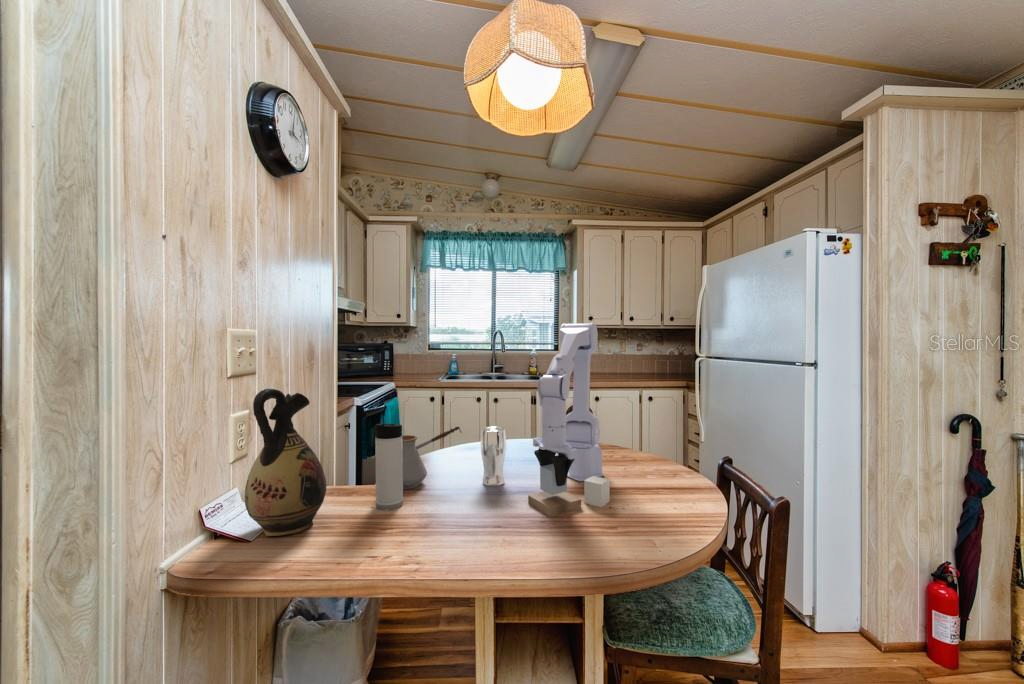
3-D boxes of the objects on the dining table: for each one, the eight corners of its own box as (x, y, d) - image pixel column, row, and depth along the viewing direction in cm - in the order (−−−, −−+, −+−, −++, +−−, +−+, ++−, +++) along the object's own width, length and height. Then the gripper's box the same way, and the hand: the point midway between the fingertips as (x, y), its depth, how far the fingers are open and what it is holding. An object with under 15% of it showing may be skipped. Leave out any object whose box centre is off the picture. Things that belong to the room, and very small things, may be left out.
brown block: (558, 497, 109) (558, 488, 109) (581, 510, 101) (581, 499, 101) (528, 505, 105) (528, 495, 104) (549, 518, 97) (549, 507, 97)
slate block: (555, 485, 106) (554, 463, 106) (567, 491, 102) (566, 467, 102) (540, 489, 103) (540, 466, 103) (552, 495, 100) (551, 471, 100)
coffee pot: (384, 494, 111) (383, 436, 111) (383, 480, 122) (383, 427, 122) (465, 485, 118) (465, 430, 117) (458, 472, 129) (458, 422, 128)
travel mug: (369, 508, 102) (368, 423, 102) (389, 498, 108) (388, 419, 108) (389, 512, 99) (388, 426, 99) (408, 503, 105) (407, 421, 105)
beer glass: (505, 487, 116) (505, 431, 116) (479, 487, 116) (479, 431, 116) (506, 478, 123) (506, 426, 123) (482, 478, 123) (481, 426, 123)
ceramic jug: (291, 508, 102) (290, 382, 102) (342, 518, 96) (340, 384, 96) (219, 540, 87) (217, 391, 86) (274, 554, 81) (271, 394, 80)
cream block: (592, 497, 108) (592, 475, 108) (609, 501, 105) (609, 479, 105) (584, 503, 104) (584, 480, 104) (601, 507, 102) (601, 484, 102)
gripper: (522, 422, 107) (523, 476, 107) (559, 433, 94) (560, 494, 95) (545, 419, 110) (546, 471, 111) (584, 429, 98) (584, 488, 98)
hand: (554, 482), depth 103 cm, fingers closed on slate block, 4 cm apart
